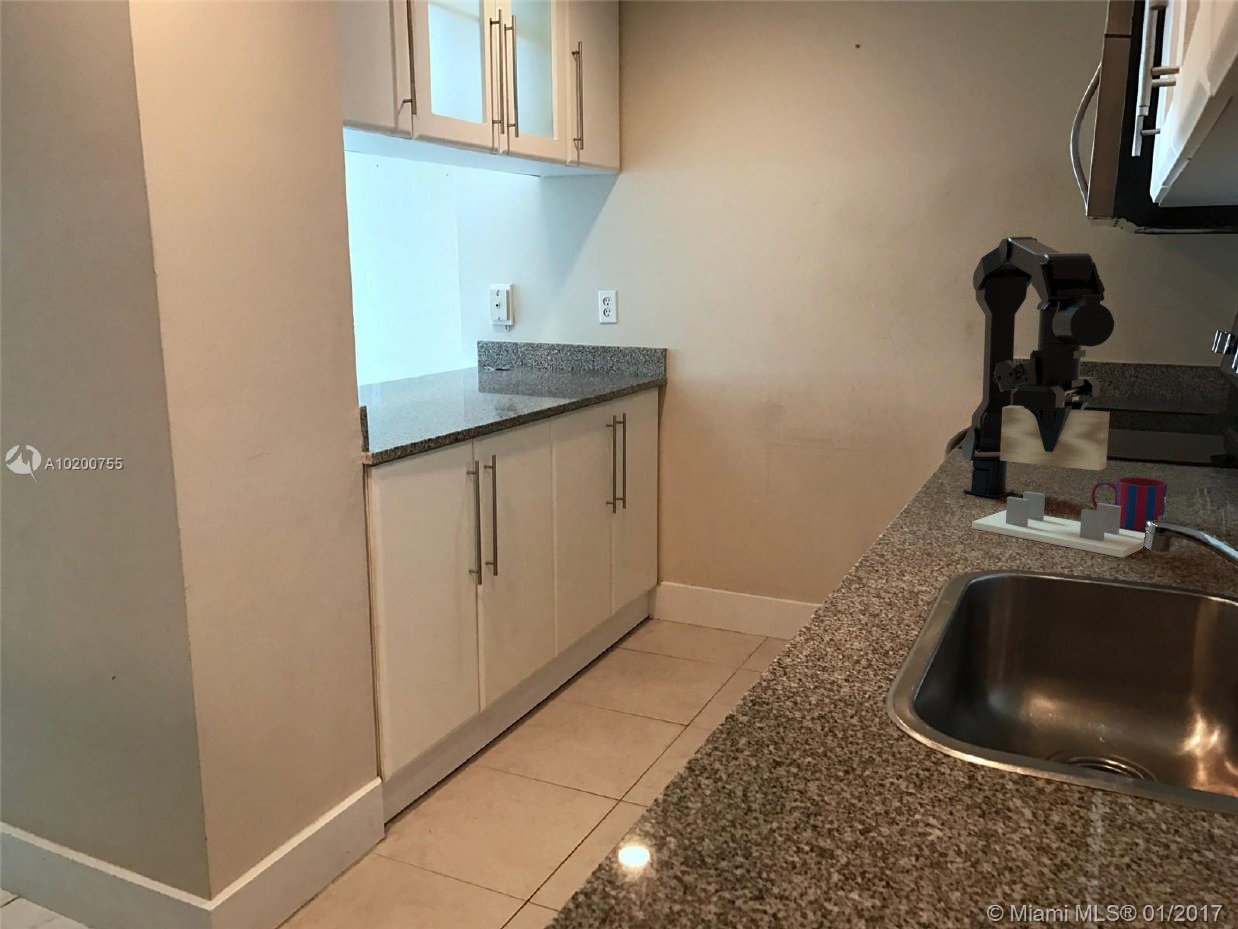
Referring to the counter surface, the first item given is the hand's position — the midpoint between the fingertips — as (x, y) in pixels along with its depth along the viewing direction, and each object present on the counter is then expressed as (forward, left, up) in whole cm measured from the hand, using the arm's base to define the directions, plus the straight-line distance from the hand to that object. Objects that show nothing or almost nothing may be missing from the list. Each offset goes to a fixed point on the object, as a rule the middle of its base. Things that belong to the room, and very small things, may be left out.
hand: (1053, 450), depth 140 cm
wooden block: (0, 0, -2) cm, 2 cm away
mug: (-13, +6, -13) cm, 19 cm away
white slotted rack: (0, +2, -12) cm, 13 cm away
